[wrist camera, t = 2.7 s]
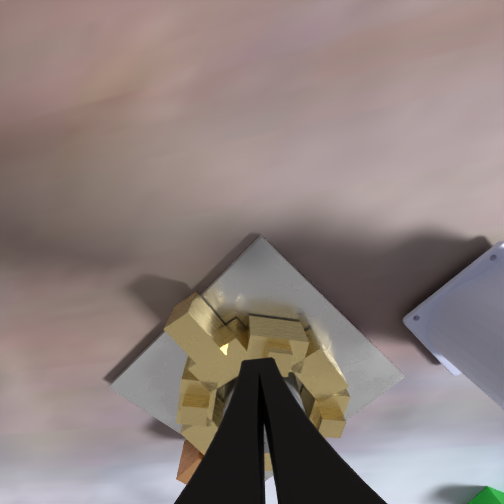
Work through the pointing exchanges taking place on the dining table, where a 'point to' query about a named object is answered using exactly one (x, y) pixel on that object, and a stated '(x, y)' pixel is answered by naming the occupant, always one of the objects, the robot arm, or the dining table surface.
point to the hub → (241, 307)
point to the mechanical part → (488, 497)
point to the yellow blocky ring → (244, 348)
